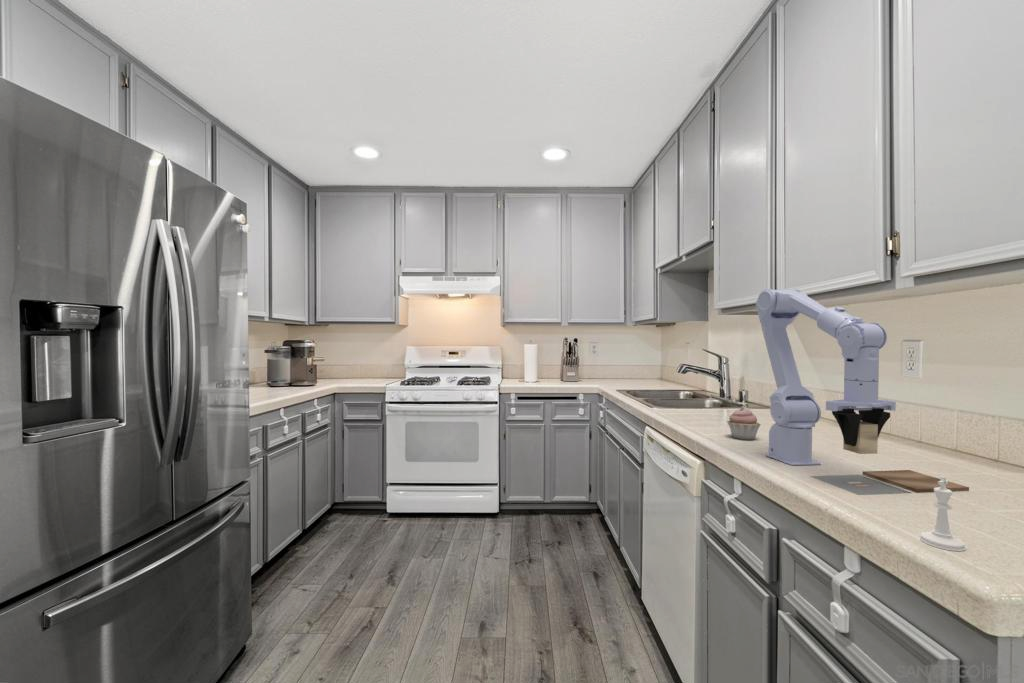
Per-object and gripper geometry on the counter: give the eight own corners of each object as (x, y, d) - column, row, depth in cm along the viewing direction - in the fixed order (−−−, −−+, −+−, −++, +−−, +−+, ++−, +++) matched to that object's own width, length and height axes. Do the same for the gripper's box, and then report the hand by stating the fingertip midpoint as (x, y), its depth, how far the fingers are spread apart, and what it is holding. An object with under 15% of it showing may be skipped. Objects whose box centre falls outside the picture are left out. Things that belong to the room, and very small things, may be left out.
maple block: (843, 449, 96) (843, 421, 96) (860, 448, 96) (860, 421, 96) (860, 454, 92) (860, 424, 92) (877, 453, 93) (877, 424, 92)
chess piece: (912, 539, 68) (913, 473, 68) (931, 534, 70) (932, 470, 70) (953, 553, 64) (954, 483, 64) (973, 548, 66) (974, 480, 65)
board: (862, 475, 101) (862, 471, 101) (909, 473, 103) (909, 470, 103) (917, 493, 89) (917, 489, 89) (968, 491, 91) (969, 487, 91)
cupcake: (721, 434, 143) (721, 403, 143) (751, 435, 143) (751, 403, 143) (734, 441, 134) (735, 408, 134) (766, 441, 134) (766, 408, 134)
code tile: (810, 476, 99) (810, 476, 99) (858, 475, 101) (858, 474, 101) (858, 495, 88) (858, 494, 88) (912, 493, 89) (912, 492, 89)
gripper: (846, 382, 89) (845, 450, 89) (910, 382, 91) (909, 448, 91) (818, 379, 96) (817, 442, 96) (878, 378, 98) (877, 440, 98)
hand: (860, 444), depth 94 cm, fingers closed on maple block, 4 cm apart
